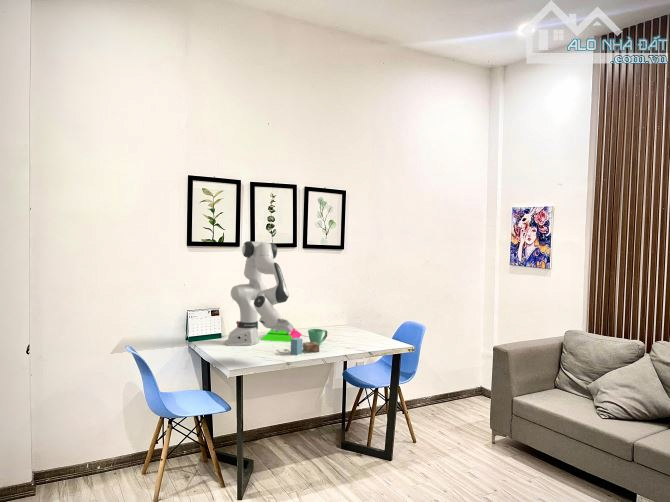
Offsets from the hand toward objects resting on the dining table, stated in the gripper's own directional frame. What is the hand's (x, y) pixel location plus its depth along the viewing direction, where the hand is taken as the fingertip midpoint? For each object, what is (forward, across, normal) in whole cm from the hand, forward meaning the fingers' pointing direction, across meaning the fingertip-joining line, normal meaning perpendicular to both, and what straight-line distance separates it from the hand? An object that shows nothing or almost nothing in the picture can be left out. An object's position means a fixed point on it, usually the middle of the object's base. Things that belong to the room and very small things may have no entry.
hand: (283, 332), depth 279 cm
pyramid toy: (+39, +36, -17) cm, 56 cm away
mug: (+38, +3, -16) cm, 41 cm away
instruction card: (+20, +9, +1) cm, 22 cm away
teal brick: (+19, 0, +2) cm, 19 cm away
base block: (+27, -3, -5) cm, 27 cm away
